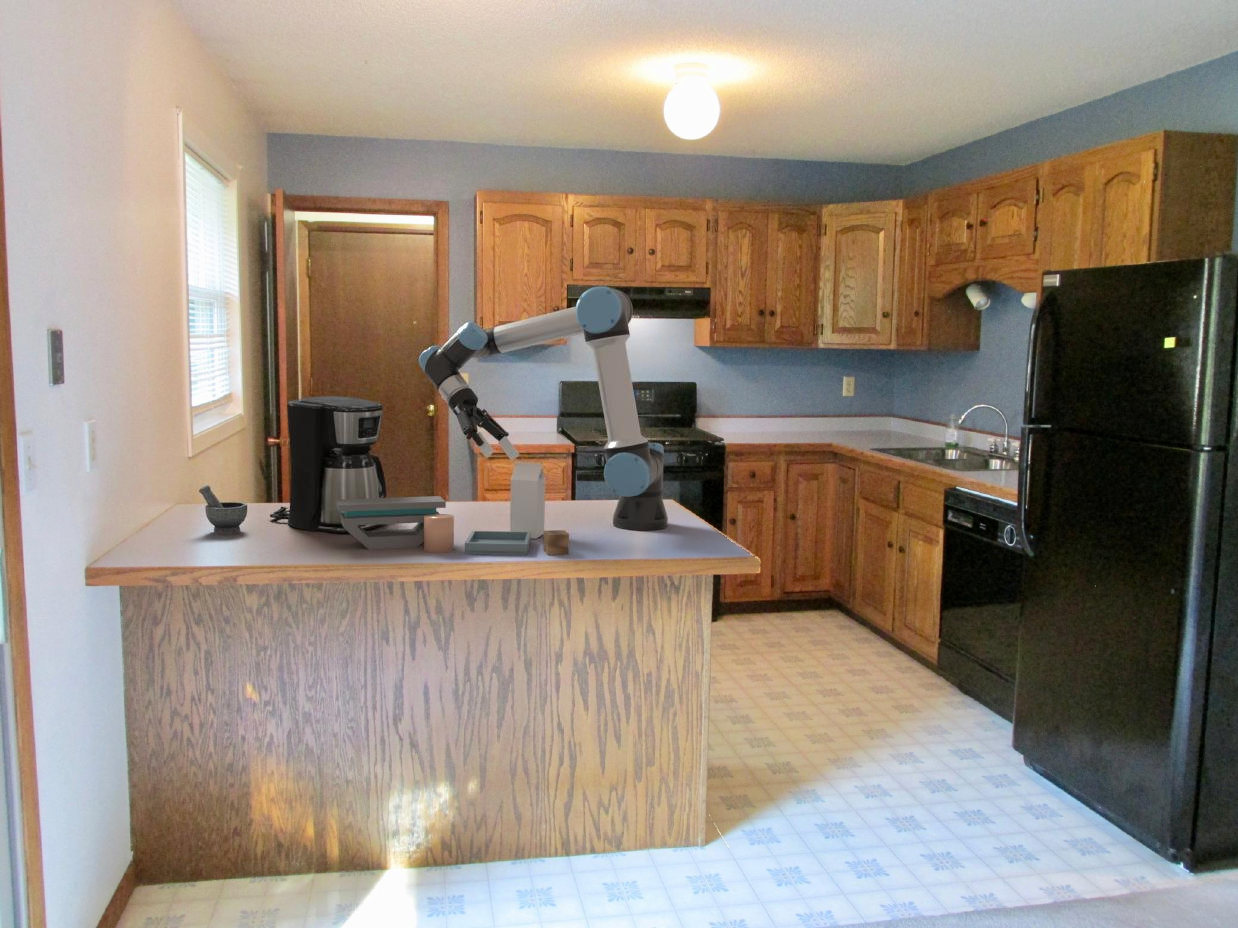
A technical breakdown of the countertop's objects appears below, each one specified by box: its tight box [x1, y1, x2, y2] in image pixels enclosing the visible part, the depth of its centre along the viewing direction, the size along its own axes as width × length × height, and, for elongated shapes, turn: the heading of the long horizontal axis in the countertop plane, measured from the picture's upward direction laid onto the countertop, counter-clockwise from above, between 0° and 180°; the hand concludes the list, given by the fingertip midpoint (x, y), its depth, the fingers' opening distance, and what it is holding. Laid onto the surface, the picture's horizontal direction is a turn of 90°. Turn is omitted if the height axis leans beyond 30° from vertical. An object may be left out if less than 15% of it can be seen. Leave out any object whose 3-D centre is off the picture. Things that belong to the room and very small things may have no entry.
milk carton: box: [509, 461, 546, 539], centre depth 253 cm, size 7×7×19 cm
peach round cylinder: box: [423, 513, 455, 554], centre depth 235 cm, size 7×7×8 cm
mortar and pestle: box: [198, 484, 248, 535], centre depth 248 cm, size 11×9×12 cm
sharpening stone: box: [336, 495, 447, 550], centre depth 239 cm, size 25×8×11 cm, turn 111°
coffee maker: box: [269, 395, 387, 535], centre depth 259 cm, size 23×32×34 cm
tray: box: [464, 530, 532, 556], centre depth 239 cm, size 15×15×3 cm
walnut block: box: [543, 529, 570, 556], centre depth 235 cm, size 5×5×5 cm
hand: (503, 456), depth 257 cm, fingers open, 13 cm apart
